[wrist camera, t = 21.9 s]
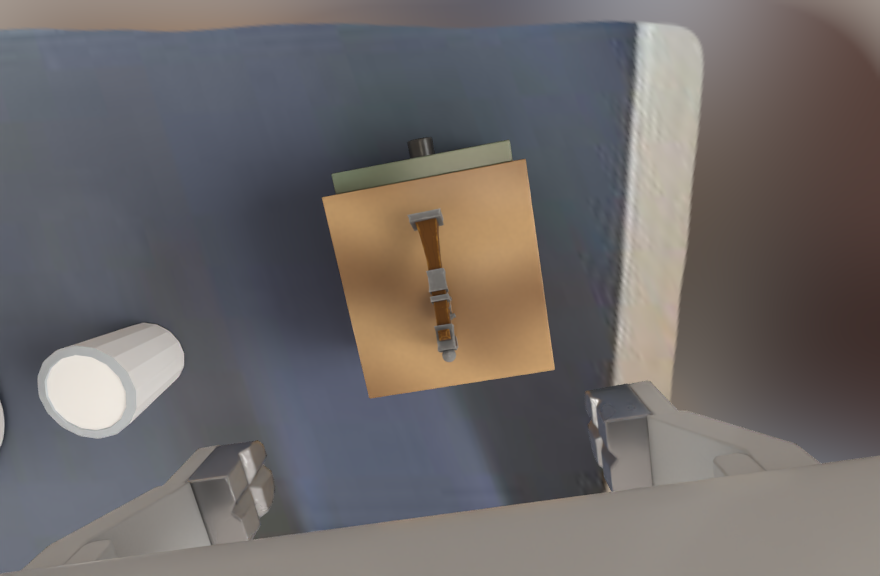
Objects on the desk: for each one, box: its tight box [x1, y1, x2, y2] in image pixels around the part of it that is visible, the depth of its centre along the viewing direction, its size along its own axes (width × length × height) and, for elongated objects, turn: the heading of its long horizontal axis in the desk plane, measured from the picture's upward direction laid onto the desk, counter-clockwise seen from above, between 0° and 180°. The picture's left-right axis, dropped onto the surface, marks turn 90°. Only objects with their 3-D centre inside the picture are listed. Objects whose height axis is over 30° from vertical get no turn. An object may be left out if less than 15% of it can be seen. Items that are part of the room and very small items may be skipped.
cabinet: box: [322, 159, 555, 398], centre depth 32 cm, size 13×12×9 cm
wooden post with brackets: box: [407, 208, 458, 362], centre depth 26 cm, size 2×8×4 cm, turn 11°
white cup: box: [37, 323, 184, 438], centre depth 35 cm, size 7×7×7 cm
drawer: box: [332, 137, 513, 194], centre depth 31 cm, size 13×10×7 cm
